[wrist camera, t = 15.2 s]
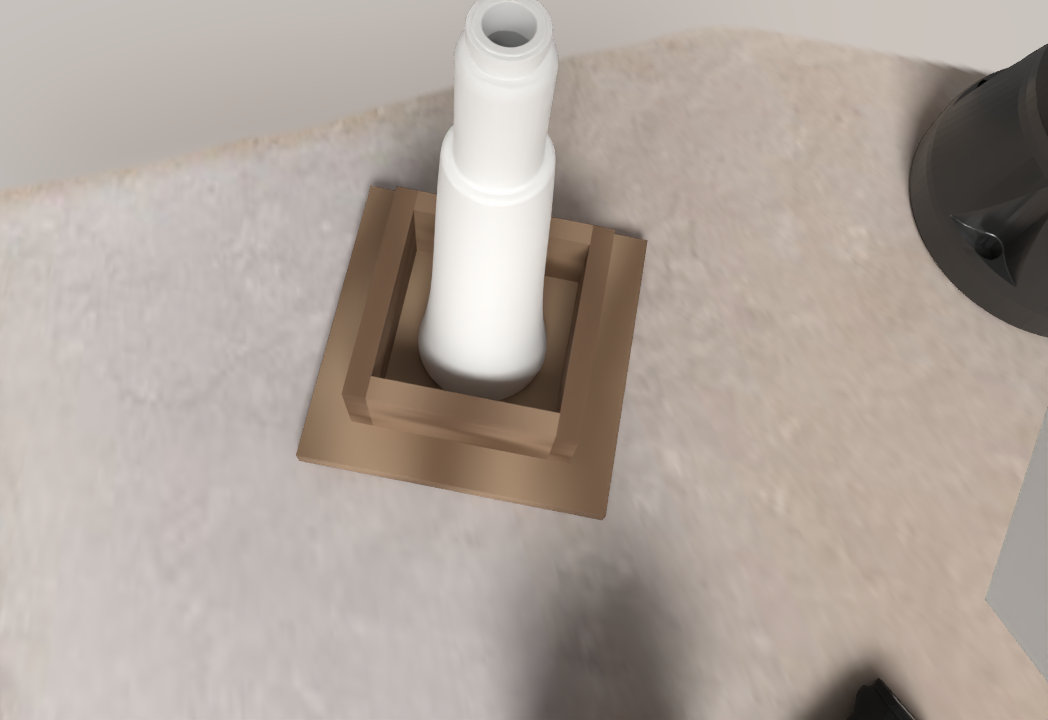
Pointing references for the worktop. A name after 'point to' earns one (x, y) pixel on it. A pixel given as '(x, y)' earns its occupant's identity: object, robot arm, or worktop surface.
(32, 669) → the worktop surface
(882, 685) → the black flashlight
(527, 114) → the cosmetic bottle
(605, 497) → the holder
